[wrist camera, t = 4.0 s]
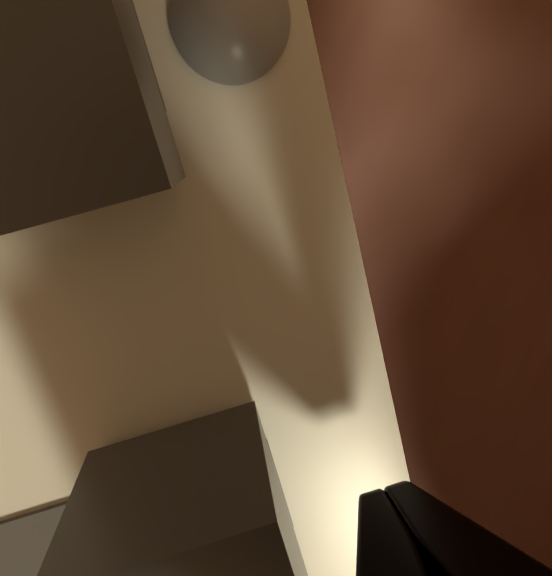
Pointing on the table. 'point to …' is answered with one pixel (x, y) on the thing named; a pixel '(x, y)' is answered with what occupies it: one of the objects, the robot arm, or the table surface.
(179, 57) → the switch board
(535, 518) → the table surface
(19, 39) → the dark grey box
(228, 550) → the grey block
